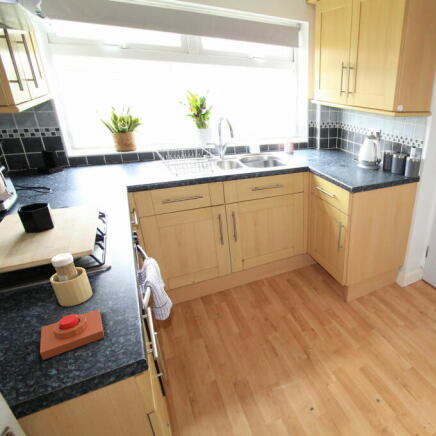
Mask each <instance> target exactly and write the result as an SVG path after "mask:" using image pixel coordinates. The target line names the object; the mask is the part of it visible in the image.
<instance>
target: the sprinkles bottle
mask: <svg viewBox="0 0 436 436" xmlns="http://www.w3.org/2000/svg"><path fill="white" fill-rule="evenodd" d="M50 261H51V264H52V266H53V268H54V269H55V271H56V272H55V273H57V276H58V278H59V281H60V282H65V281H69V280H72V279H75V278H77V277H78V273H77V270H76V268H75V267H76V266H75V263H74V257H73V255H72V254H71V253H69V252H65V253H59V254H57V255H55V256H53V257H52V258H51V260H50Z"/></svg>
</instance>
